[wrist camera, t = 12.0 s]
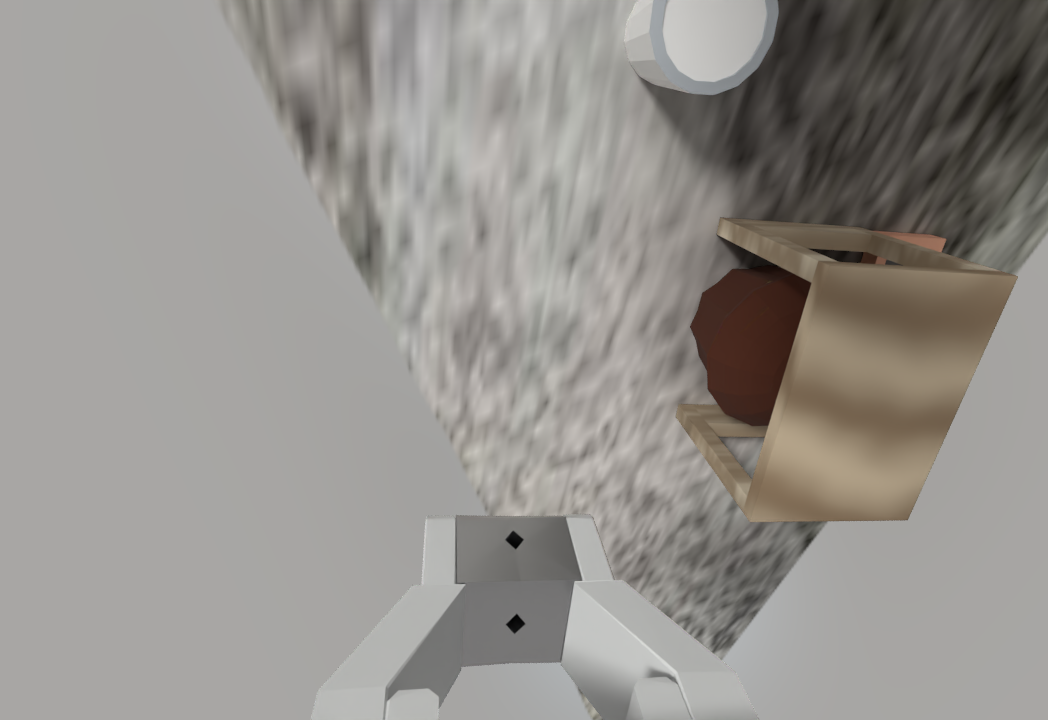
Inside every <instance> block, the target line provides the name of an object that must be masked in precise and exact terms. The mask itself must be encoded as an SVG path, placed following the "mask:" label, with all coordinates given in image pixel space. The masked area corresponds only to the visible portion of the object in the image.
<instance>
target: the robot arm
mask: <svg viewBox="0 0 1048 720" xmlns="http://www.w3.org/2000/svg"><path fill="white" fill-rule="evenodd" d="M552 662H561V666H562V667H563V668H564V669H565V671H566V672H567V673H568V675H569V676H570V677H571V679H572V680H573V681H574V682H575V684H576V685H577V686H578V688H579V689H580V690H581V691H582V693H583V694H584V695H585V696H586V698H587V699H588V700H589V702H590V703H591V704H592V705H593V707H594V708H595V709H596V711H597V712H598V713H599V714H600V716H601V717H602V718H603V720H759V718H758V717H757V714H756V712H755V710H754V708H753V706H752V704H751V702H750V700H749V698H748V696H747V694H746V692H745V690H744V688H743V686H742V684H741V682H740V680H739V678H738V676H737V674H736V672H735V671H734V670H733V669H732V668H730V667H729V666H728V665H727V664H725V663H724V662H723V661H722V660H721V659H719V658H718V657H717V656H716V655H714V654H713V653H712V652H711V651H709V650H708V649H707V648H706V647H705V646H703V645H702V644H701V643H700V642H698V641H697V640H696V639H695V638H693V637H692V636H691V635H690V634H689V633H687V632H686V631H685V630H684V629H682V628H681V627H680V626H679V625H678V624H676V623H675V622H674V621H673V620H671V619H670V618H669V617H668V616H666V615H665V614H664V613H663V612H662V611H660V610H659V609H658V608H657V607H655V606H654V605H653V604H652V603H650V602H649V601H648V600H647V599H646V598H644V597H643V596H642V595H641V594H639V593H638V592H637V591H636V590H635V589H633V588H632V587H631V586H630V585H628V584H627V583H626V582H625V581H623V580H615V579H614V576H613V573H612V570H611V568H610V565H609V562H608V559H607V556H606V553H605V550H604V547H603V545H602V542H601V539H600V536H599V533H598V530H597V527H596V524H595V521H594V519H593V517H592V516H591V515H590V514H575V515H563V516H464V515H463V516H462V515H460V516H459V515H456V519H455V517H454V516H427V518H426V522H425V537H424V553H423V569H422V585H413V586H412V587H411V588H410V589H409V590H408V591H407V592H406V594H405V595H404V596H403V597H402V598H401V599H400V600H399V601H398V602H397V604H396V605H395V606H394V607H393V608H392V609H391V610H390V611H389V612H388V613H387V615H386V616H385V617H384V618H383V619H382V620H381V621H380V622H379V624H378V625H377V626H376V627H375V628H374V629H373V630H372V631H371V632H370V634H369V635H368V636H367V637H366V638H365V639H364V640H363V641H362V642H361V643H360V645H359V646H358V647H357V648H356V649H355V650H354V651H353V652H352V654H351V655H350V656H349V657H348V658H347V659H346V660H345V661H344V662H343V664H342V665H341V666H340V667H339V668H338V669H337V670H336V671H335V673H334V674H333V675H332V676H331V677H330V678H329V679H328V680H327V681H326V682H325V684H324V685H323V686H322V687H321V688H320V689H319V690H318V692H317V696H316V700H315V704H314V709H313V713H312V717H311V720H439V708H440V706H441V704H442V703H443V701H444V699H445V697H446V696H447V694H448V692H449V691H450V689H451V687H452V685H453V684H454V682H455V680H456V678H457V677H458V675H459V673H460V671H461V667H466V666H479V665H491V664H492V665H493V664H505V663H552Z"/></svg>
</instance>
